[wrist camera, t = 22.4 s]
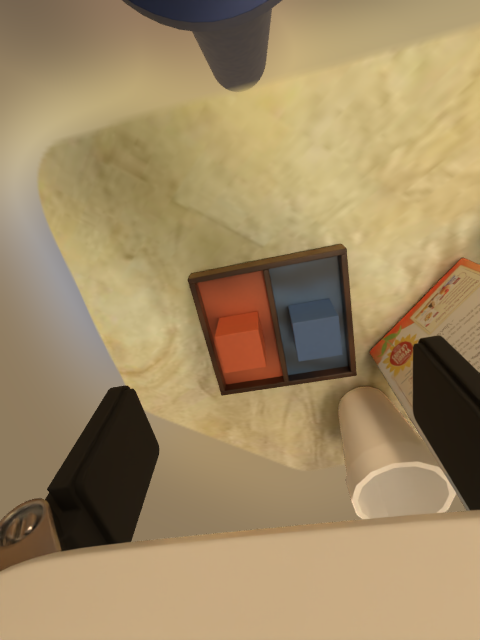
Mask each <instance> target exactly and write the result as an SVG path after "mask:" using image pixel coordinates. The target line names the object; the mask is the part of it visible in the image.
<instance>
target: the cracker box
mask: <svg viewBox="0 0 480 640" xmlns="http://www.w3.org/2000/svg"><path fill="white" fill-rule="evenodd" d="M438 335H440V336H442V337H443V338H444V339H445V340H446V341H447V342H448V343H449V344H450V345H451V346H452V347H453V348H455V349H456V350H457V351H458V352H459V353H460V354H461V355H462V356H463V357H464V358H465V359H466V360H467V361H468V362H469V363H470V364H471V365H472V366H473V367H474V368H475V369H476V370H477V371H478V372H479V373H480V265H479V264H476V263H474V262H472V261H470V260H467V259H465V258H461V259H460V260H459V261H458V262H457V263H456V264H455V265H454V266H453V267H452V268H451V269H450V270H449V271H448V272H447V274H446V275H445V276H444V277H443V278H442V279H441V280H440V281H439V282H438V283H437V284H436V285H435V286H434V287H433V288H432V289H431V290H430V291H429V292H428V293H427V294H426V295H425V296H424V297H423V298H422V299H421V300H420V301H419V302H418V303H417V304H416V305H415V306H414V307H413V308H412V309H411V310H410V311H409V312H408V313H407V314H406V315H405V316H404V317H403V318H402V319H401V320H400V321H399V322H398V323H397V324H396V325H395V326H394V327H393V328H392V329H391V330H390V331H389V332H388V333H387V334H386V335H385V336H384V337H383V338H382V339H381V340H380V341H379V342H378V343H377V344H376V345H375V346H374V347H373V348H372V349H371V351H370V354H371V356H372V358H373V359H374V361H375V363H376V364H377V366H378V368H379V369H380V371H381V372H382V374H383V376H384V377H385V379H386V380H387V382H388V384H389V385H390V387H391V389H392V390H393V392H394V394H395V395H396V397H397V398H398V400H399V402H400V403H401V405H402V407H403V408H404V410H405V411H406V413H407V415H408V416H409V418H410V420H411V421H412V423H413V424H414V426H415V428H416V429H417V431H418V433H419V434H420V436H421V437H422V439H423V441H424V442H425V444H426V446H427V447H428V449H429V450H430V452H431V454H432V455H433V457H434V459H435V460H436V462H437V463H438V465H439V466H440V468H441V469H442V471H443V473H444V474H445V476H446V477H447V479H448V481H449V482H450V484H451V486H452V487H453V489H454V490H455V492H456V494H457V495H458V497H459V499H460V500H461V502H462V504H463V506H464V507H465V509H466V510H467V511H470V510H469V508H468V506H467V505H466V503H465V501H464V500H463V498H462V496H461V495H460V493H459V492H458V490H457V488H456V487H455V485H454V483H453V482H452V480H451V478H450V477H449V475H448V473H447V472H446V470H445V468H444V467H443V465H442V463H441V462H440V460H439V458H438V457H437V455H436V454H435V452H434V450H433V449H432V447H431V445H430V444H429V442H428V440H427V439H426V437H425V435H424V434H423V432H422V430H421V429H420V427H419V425H418V424H417V422H416V420H415V418H414V415H413V345H414V344H417V343H418V341H419V339H420V338H425V337H431V336H438Z"/></svg>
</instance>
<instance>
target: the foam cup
mask: <svg viewBox="0 0 480 640" xmlns="http://www.w3.org/2000/svg"><path fill="white" fill-rule="evenodd" d="M338 410H339V412H338V413H339V421H340V428H341V436H342V443H343V451H344V458H345V466H346V473H347V476H346V484H347V487H348V491H349V494H350V498H351V502H352V504H353V507H354V509H355V512H356V514H357V515H358V516H359V517H360V518H362V519H372V518H383V517H394V516H405V515H417V514H430V513H444V512H445V511H447V510H448V509H449V507H450V505H451V503H452V501H453V499H454V497H455V495H456V492H455V490H454V489H453V487H452V486H451V484H450V482H449V481H448V479H447V477H446V476H445V474H444V473H443V471H442V469H441V468H440V466H439V465H438V463H437V462H436V460H435V459H434V457H433V455H432V454H431V452H430V450H429V449H428V447H427V446H426V444H425V442H424V441H423V440H422V439H421V437H420V436H419V435H418V434H417V432H416V431H415V430H414V429H413V428H412V426H411V425H410V424H409V423H408V421H407V420H406V419H405V418H404V417H403V415H402V414H401V413H400V412H399V410H398V409H397V408H396V407H395V405H394V404H393V403H392V402H391V401H390V399H389V398H388V397H387V396H386V395H385V394H384V393H383V392H382V391H381V390H379V389H377V388H373V387H369V386H367V387H357V388H355V389H353V390H351V391H349V392H347V393H346V394H345V395H344V396H343V397H342V399H341V400H340V403H339V407H338Z"/></svg>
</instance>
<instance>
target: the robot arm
mask: <svg viewBox="0 0 480 640" xmlns="http://www.w3.org/2000/svg"><path fill="white" fill-rule="evenodd" d="M413 415H414V418H415V420H416V422H417V424H418V425H419V427H420V429H421V430H422V432H423V434H424V435H425V437H426V439H427V440H428V442H429V444H430V445H431V447H432V449H433V450H434V452H435V454H436V455H437V457H438V458H439V460H440V462H441V463H442V465H443V467H444V468H445V470H446V472H447V473H448V475H449V477H450V478H451V480H452V482H453V483H454V485H455V487H456V488H457V490H458V492H459V493H460V495H461V496H462V498H463V500H464V501H465V503H466V505H467V506H468V508H469V510H470V511H457V512H444V513H430V514H417V515H405V516H394V517H383V518H372V519H361V520H350V521H339V522H328V523H318V524H306V525H296V526H286V527H275V528H265V529H255V530H244V531H234V532H223V533H213V534H204V535H194V536H184V537H175V538H164V539H155V540H145V541H135V542H131V540H132V537H133V534H134V531H135V528H136V524H137V521H138V518H139V515H140V512H141V509H142V506H143V503H144V500H145V496H146V493H147V490H148V487H149V484H150V481H151V478H152V474H153V471H154V468H155V465H156V462H157V459H158V455H159V445H158V442H157V440H156V438H155V435H154V433H153V430H152V428H151V426H150V423H149V421H148V419H147V417H146V414H145V412H144V410H143V407H142V405H141V403H140V401H139V398H138V396H137V394H136V392H135V390H134V389H130V387H129V386H120V387H113V388H110V389H109V390H108V392H107V394H106V395H105V397H104V398H103V400H102V402H101V403H100V405H99V406H98V408H97V410H96V411H95V413H94V414H93V416H92V418H91V419H90V421H89V423H88V424H87V426H86V427H85V429H84V431H83V432H82V434H81V435H80V437H79V439H78V440H77V442H76V444H75V445H74V447H73V448H72V450H71V452H70V453H69V455H68V456H67V458H66V460H65V461H64V463H63V465H62V466H61V468H60V469H59V471H58V472H57V474H56V476H55V477H54V479H53V480H52V482H51V484H50V485H49V487H48V489H47V490H48V491H49V494H48V496H47V497H46V499H45V500H44V499H42V498H37V499H32V500H28V501H26V502H24V503H22V504H20V505H18V506H17V507H15V508H14V509H13V510H11V511H10V512H9V513H8V514H7V515H6V516H4V517H3V519H1V521H0V640H480V373H479V372H478V371H477V370H476V369H475V368H474V367H473V366H472V365H471V364H470V363H469V362H468V361H467V360H466V359H465V358H464V357H463V356H462V355H461V354H460V353H459V352H458V351H457V350H456V349H455V348H453V347H452V346H451V345H450V344H449V343H448V342H447V341H446V340H445V339H444V338H443V337H442V336H440V335H438V336H431V337H425V338H420V339H419V341H418V343H417V344H414V345H413Z"/></svg>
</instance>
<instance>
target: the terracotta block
mask: <svg viewBox="0 0 480 640" xmlns="http://www.w3.org/2000/svg"><path fill="white" fill-rule="evenodd" d="M215 340H216V343H217V347H218V350H219V354H220V358H221V361H222V365H223V368H224V372H225V373H229V372H235V371H242V370H248V369H255V368H261V367H266V350H265V342H264V337H263V332H262V327H261V323H260V318H259V313H258V311H256V312H250V313H245V314H239V315H233V316H228V317H222V318H219V321H218V325H217V329H216V334H215Z"/></svg>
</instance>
